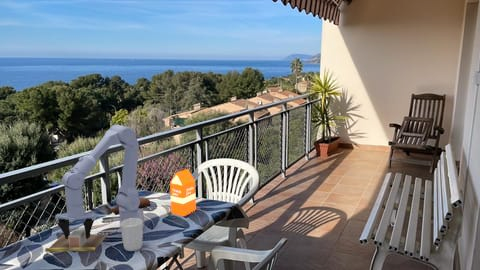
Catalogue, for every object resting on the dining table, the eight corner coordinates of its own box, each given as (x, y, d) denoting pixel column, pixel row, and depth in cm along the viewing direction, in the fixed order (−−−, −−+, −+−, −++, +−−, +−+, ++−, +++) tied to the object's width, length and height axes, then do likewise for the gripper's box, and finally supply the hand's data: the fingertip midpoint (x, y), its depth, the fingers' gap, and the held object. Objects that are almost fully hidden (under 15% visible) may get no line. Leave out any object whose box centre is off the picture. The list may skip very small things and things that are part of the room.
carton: (86, 241, 144) (85, 229, 143) (80, 248, 138) (78, 236, 137) (76, 241, 144) (75, 229, 143) (69, 249, 138) (68, 236, 137)
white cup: (132, 254, 135) (130, 228, 133) (117, 248, 139) (115, 223, 137) (148, 245, 141) (147, 220, 140) (133, 240, 146) (132, 216, 144)
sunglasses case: (142, 201, 189) (145, 191, 186) (148, 211, 185) (151, 201, 182) (108, 210, 177) (110, 200, 174) (113, 221, 174) (116, 211, 170)
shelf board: (107, 235, 150) (107, 231, 150) (94, 252, 136) (94, 248, 136) (63, 236, 150) (62, 232, 150) (45, 253, 136) (44, 249, 136)
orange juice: (196, 210, 176) (194, 169, 173) (183, 216, 169) (182, 174, 166) (183, 207, 180) (182, 167, 177) (170, 213, 173) (169, 171, 170)
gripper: (49, 207, 134) (53, 242, 137) (90, 207, 134) (93, 242, 137) (59, 200, 141) (62, 234, 144) (97, 200, 141) (100, 233, 144)
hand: (77, 237), depth 141 cm, fingers open, 7 cm apart
